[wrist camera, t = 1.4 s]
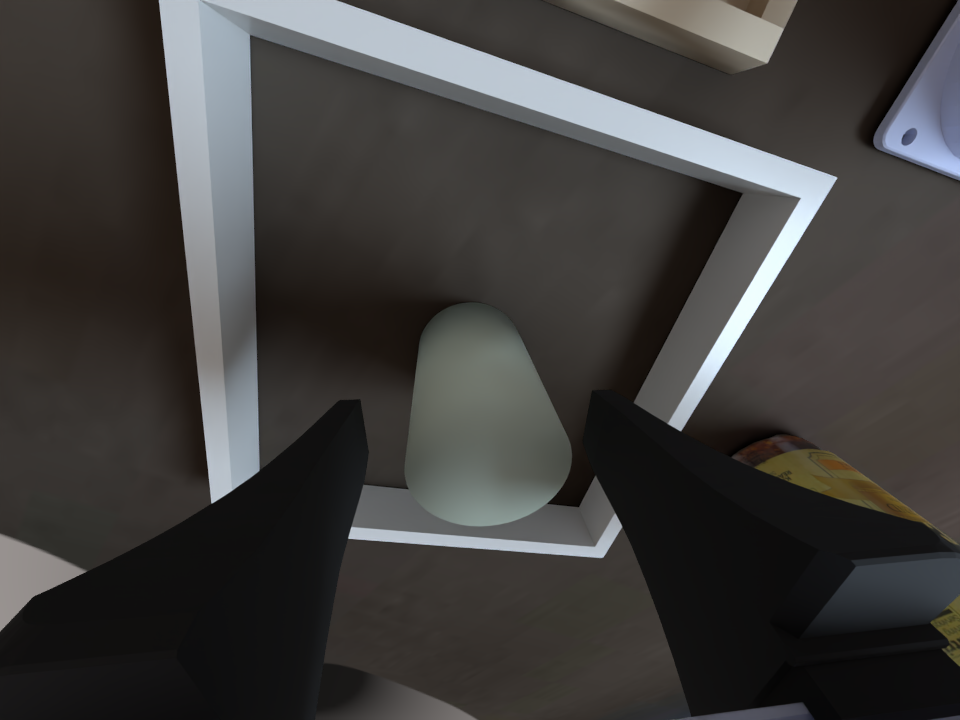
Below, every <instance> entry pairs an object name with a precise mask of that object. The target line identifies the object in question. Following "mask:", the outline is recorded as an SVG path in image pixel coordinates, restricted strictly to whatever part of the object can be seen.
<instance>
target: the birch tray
mask: <svg viewBox="0 0 960 720" xmlns="http://www.w3.org/2000/svg"><path fill="white" fill-rule="evenodd" d="M543 1H545V2H548V3H550V4H553V5H555V6H558V7H560V8H563V9H566V10H568V11H571V12H573V13H576V14H578V15H581V16H583V17H586V18H588V19H591V20H593V21H596V22H598V23H601V24H603V25H606V26H608V27H611V28H614V29H616V30H619V31H621V32H624V33H626V34H629V35H631V36H634V37H636V38H639V39H641V40H644V41H646V42H649V43H651V44H654V45H656V46H659V47H662V48H664V49H667V50H669V51H672V52H674V53H677V54H679V55H682V56H684V57H687V58H689V59H692V60H694V61H697V62H699V63H702V64H705V65H707V66H710V67H712V68H715V69H717V70H720V71H722V72H725V73H727V74H730V75H733V74H736V73H739V72H742V71H745V70H749V69H752V68H755V67H758V66H761V65H764V64H767V63H768V61H769V59H770V57H771V55H772V53H773V51H774V49H775V47H776V45H777V43H778V40H779V38H780V36H781V34H782V32H783V30H784V28H785V26H786V24H787V22H788V20H789V18H790V15H791V13H792V11H793V9H794V7H795V5H796V3H797V1H798V0H543Z"/></svg>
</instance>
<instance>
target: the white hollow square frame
mask: <svg viewBox="0 0 960 720" xmlns="http://www.w3.org/2000/svg"><path fill="white" fill-rule="evenodd" d="M159 5H160V15H161V25H162V34H163V44H164V53H165V63H166V72H167V82H168V91H169V101H170V111H171V120H172V130H173V139H174V149H175V158H176V168H177V177H178V187H179V196H180V206H181V216H182V225H183V235H184V244H185V254H186V263H187V273H188V282H189V292H190V302H191V311H192V321H193V330H194V340H195V349H196V359H197V368H198V378H199V388H200V397H201V407H202V416H203V426H204V435H205V445H206V454H207V464H208V473H209V483H210V493H211V502H212V503H214V502H215V501H217V500H218V499H220V498H222V497H223V496H225V495H226V494H228V493H229V492H231V491H232V490H234V489H235V488H236V487H238V486H239V485H241V484H242V483H244V482H245V481H246V480H248V479H249V478H251V477H252V476H253V475H255V474H256V473H257V472H259V427H258V382H257V337H256V292H255V247H254V202H253V157H252V112H251V67H250V35H252V36H255V37H258V38H261V39H265V40H268V41H271V42H274V43H277V44H280V45H283V46H286V47H289V48H293V49H296V50H299V51H302V52H305V53H308V54H311V55H314V56H317V57H321V58H324V59H327V60H330V61H333V62H336V63H339V64H342V65H345V66H349V67H352V68H355V69H358V70H361V71H364V72H367V73H370V74H373V75H377V76H380V77H383V78H386V79H389V80H392V81H395V82H398V83H401V84H405V85H408V86H411V87H414V88H417V89H420V90H423V91H426V92H429V93H433V94H436V95H439V96H442V97H445V98H448V99H451V100H454V101H457V102H461V103H464V104H467V105H470V106H473V107H476V108H479V109H482V110H485V111H489V112H492V113H495V114H498V115H501V116H504V117H507V118H510V119H513V120H517V121H520V122H523V123H526V124H529V125H532V126H535V127H538V128H541V129H545V130H548V131H551V132H554V133H557V134H560V135H563V136H566V137H569V138H573V139H576V140H579V141H582V142H585V143H588V144H591V145H594V146H597V147H601V148H604V149H607V150H610V151H613V152H616V153H619V154H622V155H625V156H629V157H632V158H635V159H638V160H641V161H644V162H647V163H650V164H653V165H657V166H660V167H663V168H666V169H669V170H672V171H675V172H678V173H681V174H685V175H688V176H691V177H694V178H697V179H700V180H703V181H706V182H709V183H713V184H716V185H719V186H722V187H725V188H728V189H731V190H734V191H737V192H741V193H743V194H742V196H741V198H740V200H739V202H738V204H737V206H736V208H735V210H734V211H733V213H732V215H731V217H730V219H729V221H728V223H727V225H726V227H725V229H724V231H723V233H722V234H721V236H720V238H719V240H718V242H717V244H716V246H715V248H714V250H713V252H712V254H711V255H710V257H709V259H708V261H707V263H706V265H705V267H704V269H703V271H702V273H701V275H700V277H699V278H698V280H697V282H696V284H695V286H694V288H693V290H692V292H691V294H690V296H689V298H688V299H687V301H686V303H685V305H684V307H683V309H682V311H681V313H680V315H679V317H678V319H677V321H676V322H675V324H674V326H673V328H672V330H671V332H670V334H669V336H668V338H667V340H666V342H665V344H664V345H663V347H662V349H661V351H660V353H659V355H658V357H657V359H656V361H655V363H654V365H653V366H652V368H651V370H650V372H649V374H648V376H647V378H646V380H645V382H644V384H643V386H642V388H641V389H640V391H639V393H638V395H637V397H636V399H635V401H634V403H635V404H636V405H638V406H640V407H641V408H643V409H644V410H646V411H648V412H649V413H651V414H652V415H654V416H656V417H657V418H659V419H661V420H662V421H664V422H666V423H667V424H669V425H671V426H672V427H674V428H676V429H677V430H679V431H682V429H683V427H684V426H685V424H686V422H687V421H688V419H689V418H690V416H691V414H692V413H693V411H694V409H695V408H696V406H697V405H698V403H699V401H700V400H701V398H702V397H703V395H704V393H705V392H706V390H707V388H708V387H709V385H710V384H711V382H712V380H713V379H714V377H715V375H716V374H717V372H718V371H719V369H720V367H721V366H722V364H723V362H724V361H725V359H726V358H727V356H728V354H729V353H730V351H731V350H732V348H733V346H734V345H735V343H736V341H737V340H738V338H739V337H740V335H741V333H742V332H743V330H744V328H745V327H746V325H747V324H748V322H749V320H750V319H751V317H752V315H753V314H754V312H755V311H756V309H757V307H758V306H759V304H760V303H761V301H762V299H763V298H764V296H765V294H766V293H767V291H768V290H769V288H770V286H771V285H772V283H773V281H774V280H775V278H776V277H777V275H778V273H779V272H780V270H781V269H782V267H783V265H784V264H785V262H786V260H787V259H788V257H789V256H790V254H791V252H792V251H793V249H794V247H795V246H796V244H797V243H798V241H799V239H800V238H801V236H802V234H803V233H804V231H805V230H806V228H807V226H808V225H809V223H810V222H811V220H812V218H813V217H814V215H815V213H816V212H817V210H818V209H819V207H820V205H821V204H822V202H823V200H824V199H825V197H826V196H827V194H828V192H829V191H830V189H831V187H832V186H833V184H834V183H835V181H836V179H837V177H834V176H832V175H829V174H826V173H823V172H820V171H817V170H815V169H812V168H809V167H806V166H803V165H800V164H798V163H795V162H792V161H789V160H786V159H783V158H781V157H778V156H775V155H772V154H769V153H766V152H764V151H761V150H758V149H755V148H752V147H750V146H747V145H744V144H741V143H738V142H735V141H733V140H730V139H727V138H724V137H721V136H718V135H716V134H713V133H710V132H707V131H704V130H701V129H699V128H696V127H693V126H690V125H687V124H684V123H682V122H679V121H676V120H673V119H670V118H667V117H665V116H662V115H659V114H656V113H653V112H651V111H648V110H645V109H642V108H639V107H636V106H634V105H631V104H628V103H625V102H622V101H619V100H617V99H614V98H611V97H608V96H605V95H602V94H600V93H597V92H594V91H591V90H588V89H585V88H583V87H580V86H577V85H574V84H571V83H568V82H566V81H563V80H560V79H557V78H554V77H551V76H549V75H546V74H543V73H540V72H537V71H535V70H532V69H529V68H526V67H523V66H520V65H518V64H515V63H512V62H509V61H506V60H503V59H501V58H498V57H495V56H492V55H489V54H486V53H484V52H481V51H478V50H475V49H472V48H469V47H467V46H464V45H461V44H458V43H455V42H452V41H450V40H447V39H444V38H441V37H438V36H436V35H433V34H430V33H427V32H424V31H421V30H419V29H416V28H413V27H410V26H407V25H404V24H402V23H399V22H396V21H393V20H390V19H387V18H385V17H382V16H379V15H376V14H373V13H370V12H368V11H365V10H362V9H359V8H356V7H353V6H351V5H348V4H345V3H342V2H339V1H337V0H159ZM621 528H622V525H621V523H620V521H619V519H618V517H617V515H616V514H615V512H614V510H613V508H612V506H611V504H610V502H609V500H608V498H607V496H606V494H605V493H604V491H603V489H602V487H601V485H600V483H599V481H598V479H597V477H596V476H595V477H594V479H593V481H592V483H591V485H590V487H589V489H588V491H587V493H586V495H585V497H584V498H583V500H582V502H581V504H580V506H579V507H571V506H562V505H552V504H545V505H544V506H543V507H541V508H540V509H538V510H537V511H535V512H533V513H531V514H529V515H528V516H525V517H523V518H520V519H518V520H515V521H512V522H508V523H504V524H500V525H492V526H467V525H460V524H456V523H451V522H448V521H446V520H443V519H441V518H438V517H436V516H434V515H433V514H431V513H430V512H428V511H426V510H425V509H424V508H423V507H422V506H421V505H420V504H419V503H418V502H417V501H416V500H415V499H414V497H413V496H412V494H411V493H410V491H409V489H399V488H389V487H380V486H370V485H363V488H362V492H361V496H360V499H359V503H358V506H357V510H356V513H355V516H354V520H353V523H352V527H351V530H350V534H349V537H348V539H360V540H373V541H386V542H400V543H413V544H426V545H439V546H452V547H466V548H479V549H492V550H505V551H519V552H532V553H545V554H558V555H571V556H585V557H598V558H603V557H604V555H605V554H606V552H607V550H608V549H609V547H610V546H611V544H612V542H613V541H614V539H615V538H616V536H617V534H618V533H619V531H620V529H621Z"/></svg>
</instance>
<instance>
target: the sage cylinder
mask: <svg viewBox="0 0 960 720" xmlns="http://www.w3.org/2000/svg"><path fill="white" fill-rule="evenodd" d="M571 463H572V451H571V445H570V442H569V439H568V436H567V434H566V432H565V430H564V428H563V426H562V424H561V422H560V420H559V417H558V415H557V413H556V411H555V409H554V407H553V405H552V403H551V400H550V398H549V396H548V394H547V392H546V390H545V388H544V386H543V384H542V381H541V379H540V377H539V375H538V373H537V371H536V369H535V367H534V365H533V362H532V360H531V358H530V356H529V354H528V352H527V350H526V348H525V345H524V343H523V341H522V339H521V337H520V335H519V333H518V331H517V329H516V327H515V325H514V323H513V322H512V321H511V319H510V318H509V317H508V316H507V315H506V314H504V313H503V312H502V311H500V310H498V309H497V308H495V307H492V306H490V305H487V304H483V303H477V302H467V303H460V304H456V305H453V306H450V307H448V308H446V309H444V310H442V311H441V312H439V313H438V314H436V315H435V316H434V317H433V318H432V319H431V320H430V321H429V323H428V324H427V325H426V327H425V328H424V330H423V332H422V335H421V338H420V342H419V350H418V358H417V366H416V375H415V383H414V391H413V400H412V408H411V416H410V425H409V433H408V441H407V449H406V458H405V466H404V472H405V479H406V484H407V486H408V489H409V491H410V493H411V494H412V496H413V497H414V499H415V500H416V501H417V502H418V503H419V504H420V505H421V506H422V507H423V508H424V509H425V510H426V511H428V512H430V513H431V514H433V515H434V516H436V517H438V518H441V519H443V520H446V521H448V522H451V523H456V524H460V525H467V526H492V525H500V524H504V523H508V522H512V521H515V520H518V519H520V518H523V517H525V516H528V515H529V514H531V513H533V512H535V511H537V510H538V509H540V508H541V507H543V506H544V505H545V504H546V503H548V502H549V501H550V500H551V499H552V498H553V497H554V496H555V495H556V494H557V493H558V492H559V490H560V489H561V488H562V486H563V484H564V483H565V481H566V479H567V477H568V474H569V472H570V468H571Z"/></svg>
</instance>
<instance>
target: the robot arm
mask: <svg viewBox="0 0 960 720" xmlns="http://www.w3.org/2000/svg"><path fill="white" fill-rule="evenodd" d="M903 135H904V137H903ZM902 137H903V139H902ZM901 140H902V141H901ZM873 143H874V146H875V147H876V148H877V149H878V150H881V151H884V152H886V153H889V154H891V155H894V156H897V157H899V158H902V159H904V160H907V161H910V162H912V163H915V164H917V165H920V166H923V167H925V168H928V169H930V170H933V171H936V172H938V173H941V174H943V175H946V176H949V177H951V178H954V179H956V180H959V181H960V0H958V1H957V3H956V4H955V6H954V8H953V9H952V11H951V12H950V14H949V16H948V17H947V19H946V20H945V22H944V24H943V25H942V27H941V28H940V30H939V32H938V33H937V35H936V36H935V38H934V40H933V41H932V43H931V44H930V46H929V48H928V49H927V51H926V52H925V54H924V56H923V57H922V59H921V60H920V62H919V63H918V65H917V67H916V68H915V70H914V71H913V73H912V75H911V76H910V78H909V79H908V81H907V83H906V84H905V86H904V87H903V89H902V91H901V92H900V94H899V95H898V97H897V99H896V100H895V102H894V103H893V105H892V107H891V108H890V110H889V111H888V113H887V114H886V116H885V118H884V119H883V121H882V122H881V124H880V126H879V127H878V129H877V131H876V133H875V135H874V140H873ZM583 444H584V447H585V450H586V453H587V456H588V458H589V461H590V464H591V466H592V469H593V471H594V473H595V475H596V477H597V479H598V481H599V483H600V485H601V487H602V489H603V491H604V493H605V494H606V496H607V498H608V500H609V502H610V504H611V506H612V508H613V510H614V512H615V514H616V515H617V517H618V519H619V521H620V523H621V525H622V527H623V529H624V531H625V533H626V535H627V537H628V539H629V541H630V543H631V545H632V548H633V550H634V553H635V555H636V558H637V560H638V563H639V565H640V568H641V570H642V573H643V575H644V578H645V580H646V583H647V586H648V588H649V591H650V594H651V596H652V599H653V602H654V604H655V607H656V610H657V612H658V615H659V618H660V621H661V624H662V627H663V629H664V632H665V635H666V638H667V641H668V644H669V647H670V650H671V653H672V656H673V659H674V662H675V665H676V668H677V671H678V674H679V678H680V681H681V684H682V687H683V690H684V694H685V697H686V700H687V703H688V706H689V710H690V713H691V717H688V718H680V719H673V720H960V666H959V665H958V664H957V663H955V662H954V661H953V660H952V659H951V658H950V657H949V656H948V655H947V654H946V653H945V652H944V651H943V650H942V649H944V648H947V647H948V646H949V645H950V644H949V641H948V639H947V638H946V637H945V636H944V635H943V634H942V633H941V632H940V631H939V630H938V629H936V628H935V627H934V626H933V625H932V624H931V623H930V622H931V621H932V620H933V619H935V618H936V617H937V616H938V615H939V614H940V613H941V612H942V611H943V610H944V609H945V608H946V607H947V606H948V605H949V604H951V603H952V602H953V601H954V600H955V599H956V598H957V597H958V596H959V595H960V551H959V550H958V549H956V548H955V547H954V546H952V545H951V544H950V543H948V542H947V541H945V540H944V539H943V538H941V537H940V536H939V535H937V534H936V533H935V532H933V531H932V530H930V529H929V528H928V527H926V526H924V525H923V524H921V523H919V522H915V521H912V520H908V519H905V518H901V517H898V516H894V515H891V514H887V513H884V512H880V511H877V510H873V509H870V508H866V507H863V506H859V505H856V504H852V503H849V502H846V501H843V500H840V499H837V498H834V497H831V496H828V495H825V494H822V493H819V492H816V491H813V490H810V489H807V488H804V487H802V486H799V485H796V484H793V483H791V482H788V481H786V480H783V479H781V478H778V477H775V476H773V475H770V474H768V473H765V472H763V471H760V470H758V469H756V468H753V467H751V466H749V465H746V464H744V463H742V462H740V461H738V460H735V459H733V458H731V457H729V456H727V455H725V454H723V453H721V452H718V451H716V450H714V449H712V448H710V447H709V446H707V445H705V444H703V443H701V442H699V441H697V440H695V439H694V438H692V437H690V436H688V435H686V434H684V433H683V432H681V431H679V430H677V429H676V428H674V427H672V426H671V425H669V424H667V423H666V422H664V421H662V420H661V419H659V418H657V417H656V416H654V415H652V414H651V413H649V412H648V411H646V410H644V409H643V408H641V407H640V406H638V405H636V404H635V403H633V402H631V401H630V400H628V399H627V398H625V397H623V396H621V395H620V394H618V393H616V392H614V391H612V390H592V394H591V399H590V405H589V410H588V415H587V420H586V426H585V431H584V436H583ZM368 454H369V451H368V445H367V438H366V432H365V426H364V420H363V413H362V407H361V401H360V399H359V400H339V401H338V402H337V403H336V404H335V405H334V406H333V407H332V408H331V409H329V410H328V411H327V412H326V413H325V414H324V415H323V416H322V417H321V418H320V419H319V420H318V421H317V422H316V423H315V424H314V425H313V426H312V427H311V428H309V429H308V430H307V431H306V432H305V433H304V434H303V435H302V436H301V437H300V438H299V439H297V440H296V441H295V442H294V443H293V444H292V445H290V446H289V447H288V448H287V449H286V450H284V451H283V452H282V453H281V454H280V455H279V456H277V457H276V458H275V459H274V460H273V461H271V462H270V463H269V464H268V465H266V466H265V467H264V468H263V469H261V470H260V471H259V472H257V473H256V474H255V475H253V476H252V477H251V478H249V479H248V480H246V481H245V482H244V483H242V484H241V485H239V486H238V487H236V488H235V489H234V490H232V491H231V492H229V493H228V494H226V495H225V496H223V497H222V498H220V499H218V500H217V501H215V502H214V503H212V504H210V505H209V506H207V507H206V508H204V509H202V510H201V511H199V512H198V513H196V514H194V515H193V516H191V517H189V518H188V519H186V520H185V521H183V522H181V523H180V524H178V525H176V526H174V527H173V528H171V529H169V530H167V531H165V532H164V533H162V534H160V535H158V536H156V537H155V538H153V539H151V540H149V541H147V542H145V543H143V544H141V545H140V546H138V547H136V548H134V549H132V550H130V551H128V552H126V553H124V554H122V555H120V556H118V557H116V558H114V559H113V560H111V561H109V562H106V563H104V564H102V565H100V566H98V567H96V568H94V569H92V570H90V571H87V572H85V573H83V574H81V575H79V576H77V577H75V578H73V579H71V580H69V581H66V582H64V583H62V584H60V585H58V586H56V587H54V588H52V589H50V590H47V591H45V592H43V593H41V594H38V595H36V596H34V597H33V598H32V599H31V600H30V601H29V602H28V603H27V604H26V605H25V606H24V607H23V608H22V609H21V610H20V611H19V613H18V614H17V615H16V616H15V617H14V618H13V619H12V620H11V621H10V622H9V623H8V624H7V625H6V626H5V627H4V628H3V629H2V630H1V632H0V720H315V715H316V708H317V701H318V694H319V688H320V681H321V674H322V668H323V662H324V655H325V649H326V643H327V637H328V631H329V626H330V620H331V614H332V608H333V603H334V597H335V592H336V587H337V581H338V576H339V571H340V567H341V563H342V558H343V554H344V551H345V547H346V544H347V541H348V537H349V534H350V530H351V527H352V523H353V520H354V516H355V513H356V510H357V506H358V503H359V499H360V496H361V492H362V488H363V485H364V480H365V474H366V468H367V461H368Z"/></svg>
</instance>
